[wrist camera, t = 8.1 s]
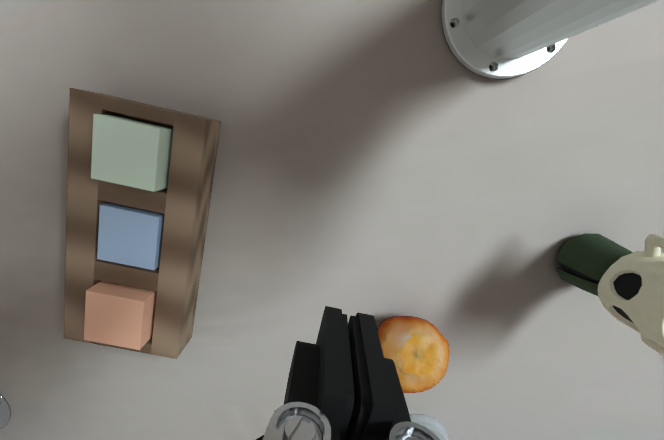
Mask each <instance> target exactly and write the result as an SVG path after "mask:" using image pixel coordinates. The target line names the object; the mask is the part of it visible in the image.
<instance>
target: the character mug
mask: <svg viewBox="0 0 664 440" xmlns="http://www.w3.org/2000/svg"><path fill="white" fill-rule="evenodd" d="M661 248H663V249H664V236H660V235H656V234H650V235H649V236H647V238H646V240H645V251H637V252H634V253H633V252H631V251H629V250H627V249H626V248H624V247H622V246H620V245H618V244H617V243H615V242H613V241H611V240H609V239H607V238H605V237H603V236H601V235H599V234H583V235H580V236H576V237H573V238H571V239H570V240H569V241H568V242H566V243H565V244H564V245H563V246H562V247H561V249H560V251H559V253H558V255H557V257H556V261H558V262H560V263H562V264H564V265H565V266H564V267H565V270H566V272H564V271H562V270H560V269H558V268H557V269H556V271H557V272H558V274H559V275H560V277H561V278H562V279H563V280H565V281H567V282H568V283H570V284H572V285H574V286H576V287H578V288H581V289H583V290H585V291H587V292H589V293H592V294H594V295H597V296H598V297H599V298H600V300H601V302H602V304H603V306H604V307H605V308H606V309H607V310H608V312H609V313H610V314H611V315H612V316H613V317H615V318H616V319H617V320H619V321H620V322H622V323H624V324H625V325H627V326H629V327H631V328H632V329H634V330H636V331H637V332H639V333H640V334H641V339H642V341H643V342H644V343H645V344H646V345H648V346H649V347H651V348H652V349H654V350H655V351H657V352H658V353H660V354H662V355H663V356H664V253H662V252H661Z"/></svg>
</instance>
